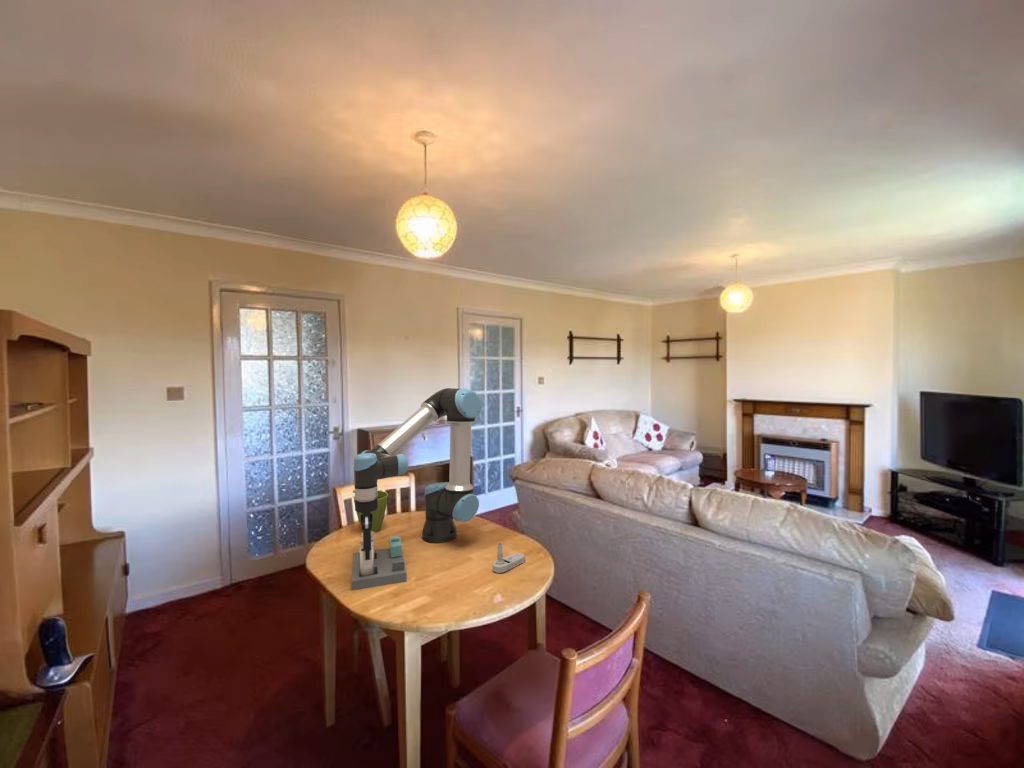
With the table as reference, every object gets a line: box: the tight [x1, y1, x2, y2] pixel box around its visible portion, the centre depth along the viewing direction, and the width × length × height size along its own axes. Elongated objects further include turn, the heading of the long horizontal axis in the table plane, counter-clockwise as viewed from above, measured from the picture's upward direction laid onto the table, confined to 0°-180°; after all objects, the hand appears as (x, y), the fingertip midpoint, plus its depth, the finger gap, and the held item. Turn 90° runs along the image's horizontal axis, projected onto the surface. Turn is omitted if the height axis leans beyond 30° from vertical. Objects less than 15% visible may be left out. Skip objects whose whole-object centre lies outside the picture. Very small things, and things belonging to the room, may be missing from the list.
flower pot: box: [353, 490, 389, 533], centre depth 203 cm, size 15×15×16 cm
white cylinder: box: [360, 531, 376, 559], centre depth 168 cm, size 5×5×12 cm
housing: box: [350, 547, 408, 591], centre depth 163 cm, size 18×24×6 cm
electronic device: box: [492, 542, 526, 574], centre depth 165 cm, size 5×10×15 cm
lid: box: [389, 535, 403, 557], centre depth 172 cm, size 4×10×5 cm, turn 18°
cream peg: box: [358, 540, 375, 577], centre depth 156 cm, size 5×5×12 cm
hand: (367, 565), depth 156 cm, fingers closed on cream peg, 4 cm apart
